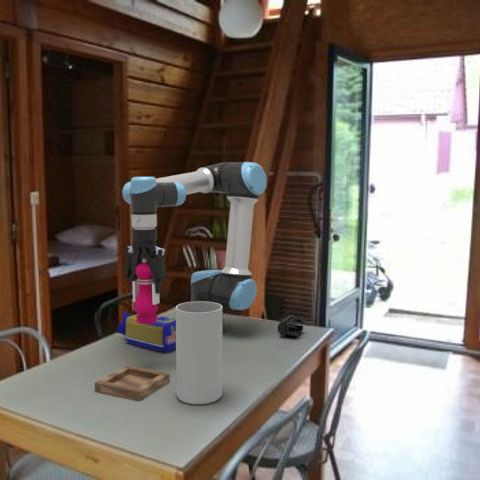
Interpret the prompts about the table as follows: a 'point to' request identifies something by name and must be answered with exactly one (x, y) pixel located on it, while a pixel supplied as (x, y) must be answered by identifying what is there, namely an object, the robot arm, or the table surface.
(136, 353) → the table surface
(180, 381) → the cylinder vase
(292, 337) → the end cap
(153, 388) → the walnut holder
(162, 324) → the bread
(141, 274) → the pepper mill
